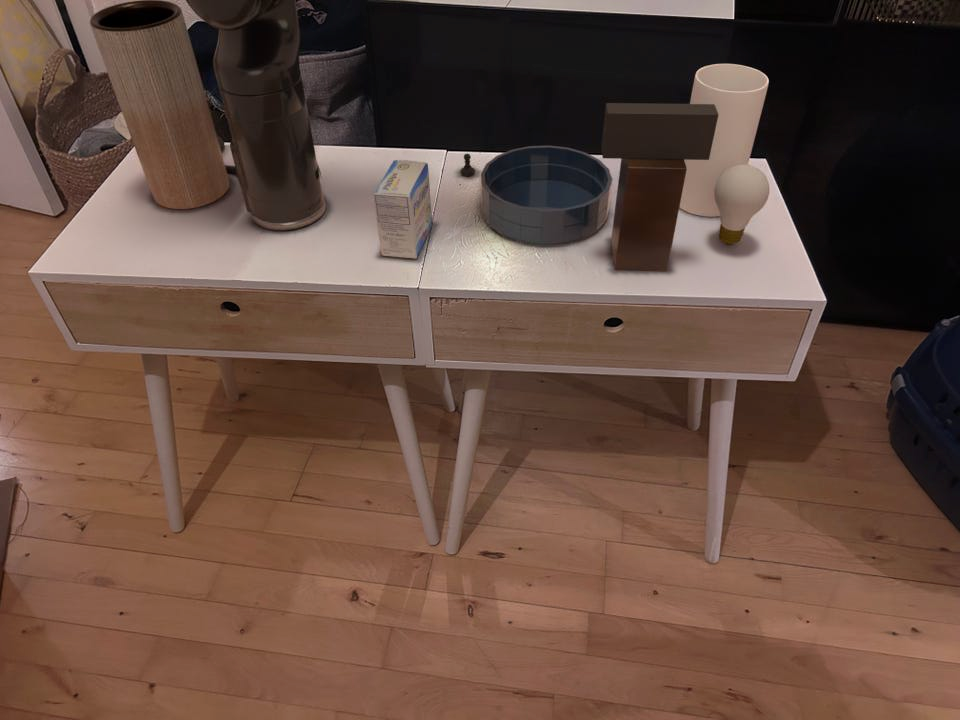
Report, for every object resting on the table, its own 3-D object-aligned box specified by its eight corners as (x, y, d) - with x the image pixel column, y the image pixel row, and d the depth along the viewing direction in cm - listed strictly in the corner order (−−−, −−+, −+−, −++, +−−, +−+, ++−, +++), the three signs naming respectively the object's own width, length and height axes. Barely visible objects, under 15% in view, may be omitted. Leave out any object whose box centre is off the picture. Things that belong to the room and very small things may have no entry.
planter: (140, 208, 96) (71, 28, 81) (172, 170, 104) (114, -2, 88) (213, 212, 95) (158, 30, 80) (241, 173, 103) (195, 0, 87)
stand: (614, 270, 85) (628, 167, 76) (610, 240, 89) (623, 140, 80) (667, 271, 85) (687, 168, 76) (661, 241, 89) (679, 141, 80)
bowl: (457, 222, 93) (455, 186, 89) (523, 168, 102) (524, 134, 99) (569, 262, 86) (572, 225, 83) (628, 201, 96) (633, 166, 92)
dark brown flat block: (602, 158, 78) (607, 113, 74) (601, 147, 79) (605, 102, 76) (708, 160, 77) (718, 114, 73) (705, 149, 79) (714, 103, 75)
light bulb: (720, 224, 92) (738, 149, 85) (763, 243, 88) (785, 167, 82) (693, 243, 89) (709, 168, 82) (736, 263, 85) (757, 187, 79)
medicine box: (416, 260, 87) (410, 195, 81) (380, 256, 88) (372, 192, 82) (433, 224, 93) (429, 161, 87) (399, 221, 93) (392, 158, 87)
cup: (743, 191, 97) (774, 69, 86) (730, 222, 92) (762, 97, 81) (681, 178, 100) (704, 59, 89) (665, 208, 94) (687, 85, 83)
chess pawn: (466, 178, 101) (466, 158, 99) (457, 173, 102) (456, 153, 100) (477, 173, 102) (477, 153, 100) (468, 168, 103) (467, 148, 101)
